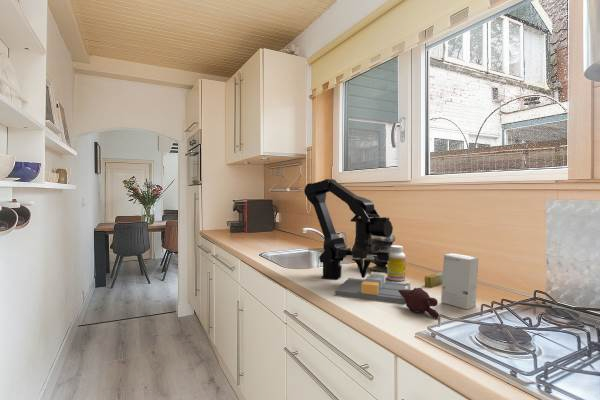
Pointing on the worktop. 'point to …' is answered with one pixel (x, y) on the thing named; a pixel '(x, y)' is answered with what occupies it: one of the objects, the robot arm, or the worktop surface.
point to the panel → (385, 294)
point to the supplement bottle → (396, 264)
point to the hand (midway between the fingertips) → (363, 277)
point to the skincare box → (459, 280)
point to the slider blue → (375, 280)
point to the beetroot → (419, 301)
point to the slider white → (378, 275)
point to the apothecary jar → (381, 244)
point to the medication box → (434, 280)
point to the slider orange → (370, 288)
